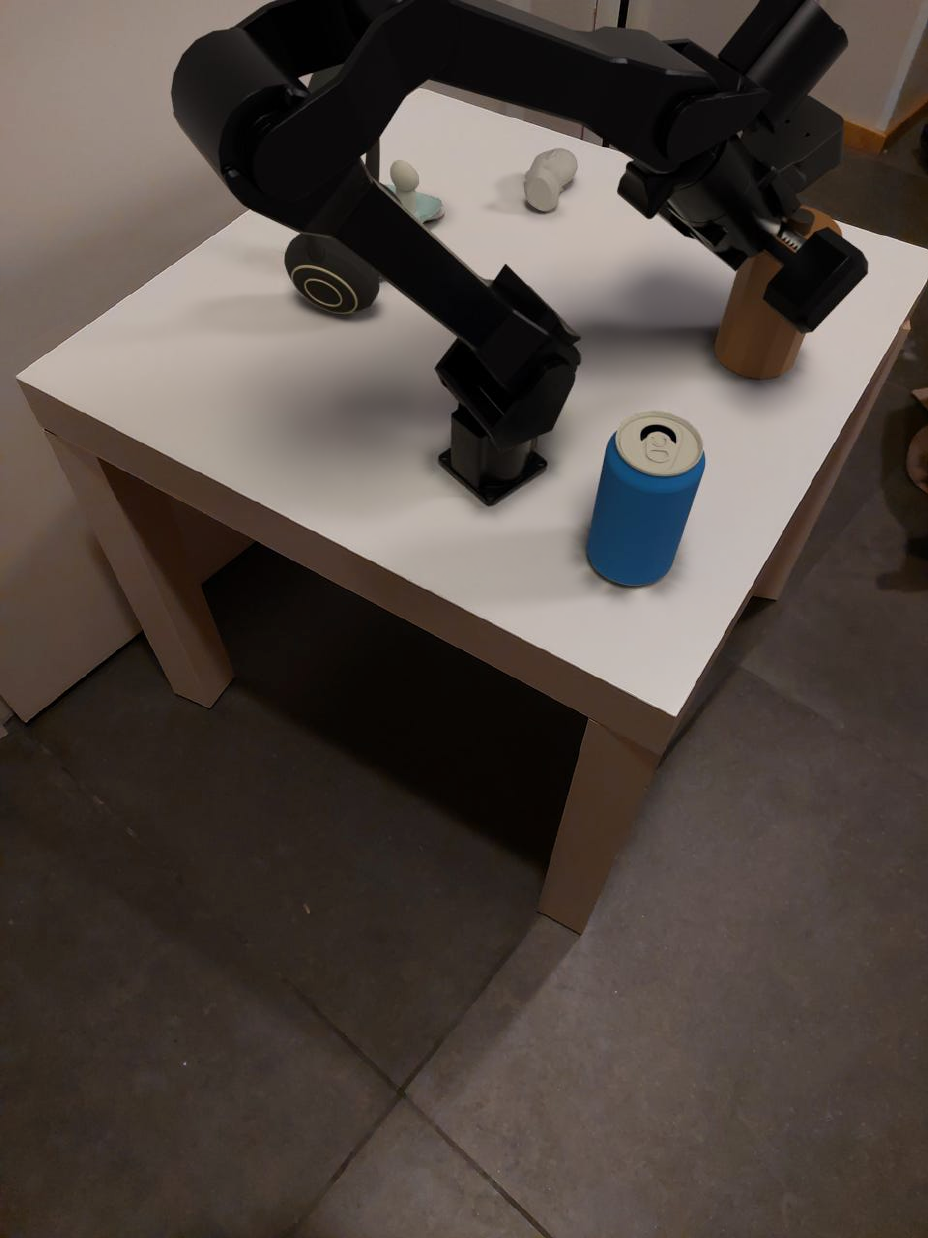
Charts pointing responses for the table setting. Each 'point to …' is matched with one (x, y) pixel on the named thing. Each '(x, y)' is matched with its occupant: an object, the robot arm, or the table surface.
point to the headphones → (333, 252)
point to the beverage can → (644, 497)
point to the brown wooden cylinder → (763, 312)
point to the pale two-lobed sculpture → (549, 177)
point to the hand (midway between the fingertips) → (782, 274)
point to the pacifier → (413, 193)
